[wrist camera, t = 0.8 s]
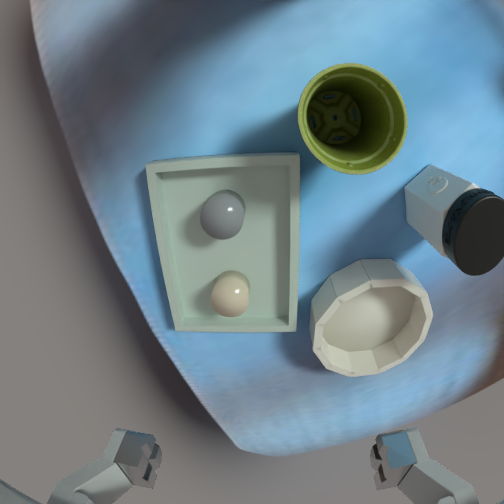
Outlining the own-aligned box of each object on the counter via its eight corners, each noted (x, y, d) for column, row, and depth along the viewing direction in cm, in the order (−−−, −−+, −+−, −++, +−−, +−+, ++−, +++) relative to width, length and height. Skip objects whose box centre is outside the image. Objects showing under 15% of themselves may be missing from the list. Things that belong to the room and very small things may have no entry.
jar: (440, 151, 30) (502, 174, 19) (467, 201, 32) (523, 238, 21) (389, 196, 33) (437, 236, 22) (420, 243, 35) (466, 294, 24)
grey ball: (204, 190, 33) (197, 199, 30) (244, 188, 33) (241, 197, 30) (208, 227, 35) (202, 240, 32) (246, 226, 35) (244, 239, 31)
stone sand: (213, 270, 37) (208, 286, 34) (249, 270, 37) (247, 285, 34) (216, 300, 39) (212, 317, 36) (250, 300, 39) (249, 317, 36)
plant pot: (278, 85, 28) (283, 75, 20) (362, 68, 27) (392, 56, 19) (303, 167, 32) (315, 186, 24) (382, 149, 30) (416, 162, 23)
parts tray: (153, 160, 32) (145, 164, 30) (297, 152, 31) (299, 155, 29) (180, 319, 42) (175, 330, 40) (295, 319, 41) (296, 331, 39)
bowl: (313, 260, 37) (319, 282, 32) (428, 257, 36) (444, 276, 31) (306, 355, 44) (309, 379, 39) (403, 347, 43) (413, 368, 38)
